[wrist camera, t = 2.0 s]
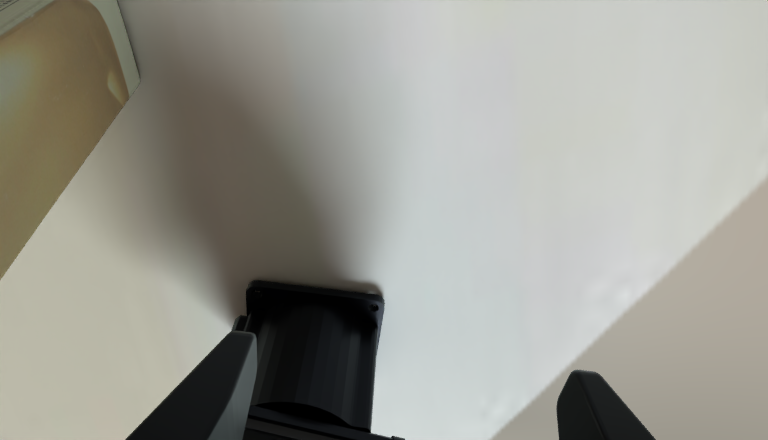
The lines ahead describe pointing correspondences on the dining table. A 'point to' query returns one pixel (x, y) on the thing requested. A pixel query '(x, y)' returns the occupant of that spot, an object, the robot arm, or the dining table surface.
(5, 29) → the skincare box
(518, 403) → the dining table surface
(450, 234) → the dining table surface
